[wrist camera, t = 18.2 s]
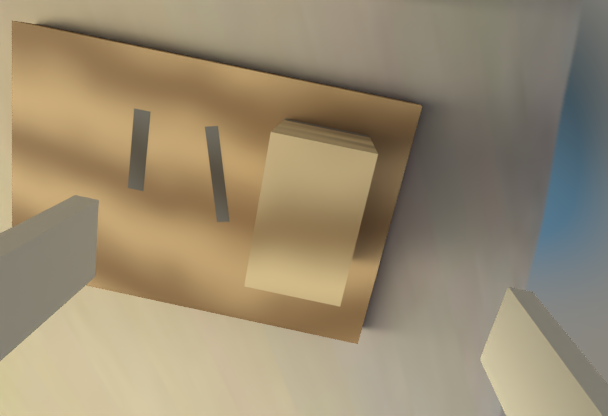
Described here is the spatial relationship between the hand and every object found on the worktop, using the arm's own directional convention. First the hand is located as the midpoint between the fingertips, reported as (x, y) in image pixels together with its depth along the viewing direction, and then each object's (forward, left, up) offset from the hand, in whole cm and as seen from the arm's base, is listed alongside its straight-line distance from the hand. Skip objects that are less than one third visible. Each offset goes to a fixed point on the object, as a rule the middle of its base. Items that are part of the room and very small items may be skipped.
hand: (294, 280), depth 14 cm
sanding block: (+1, 0, -14) cm, 14 cm away
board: (+2, -7, -16) cm, 17 cm away
